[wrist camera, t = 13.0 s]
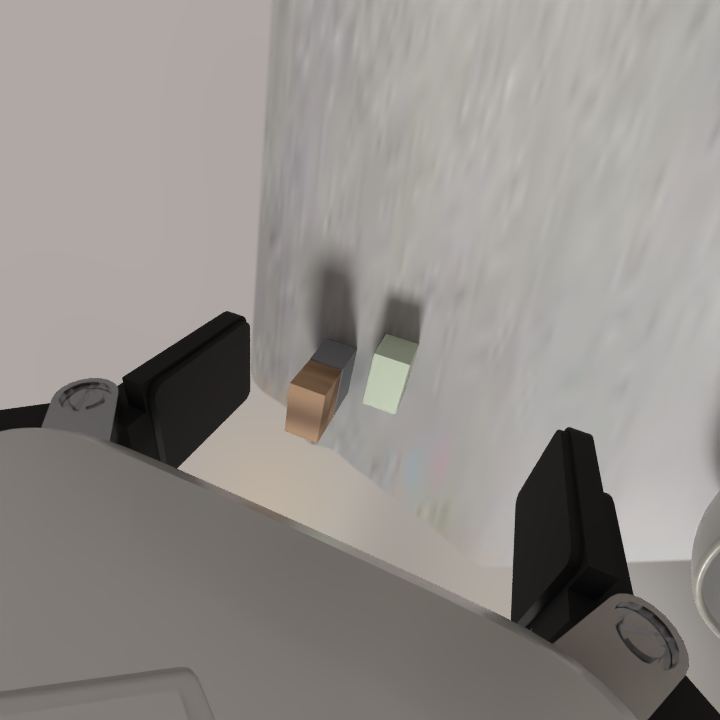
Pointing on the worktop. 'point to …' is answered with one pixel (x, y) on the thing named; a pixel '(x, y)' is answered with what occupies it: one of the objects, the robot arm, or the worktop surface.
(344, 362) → the charcoal brick
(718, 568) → the decorative bowl
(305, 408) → the walnut brick
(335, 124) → the worktop surface
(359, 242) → the worktop surface
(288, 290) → the worktop surface
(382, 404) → the sage brick
